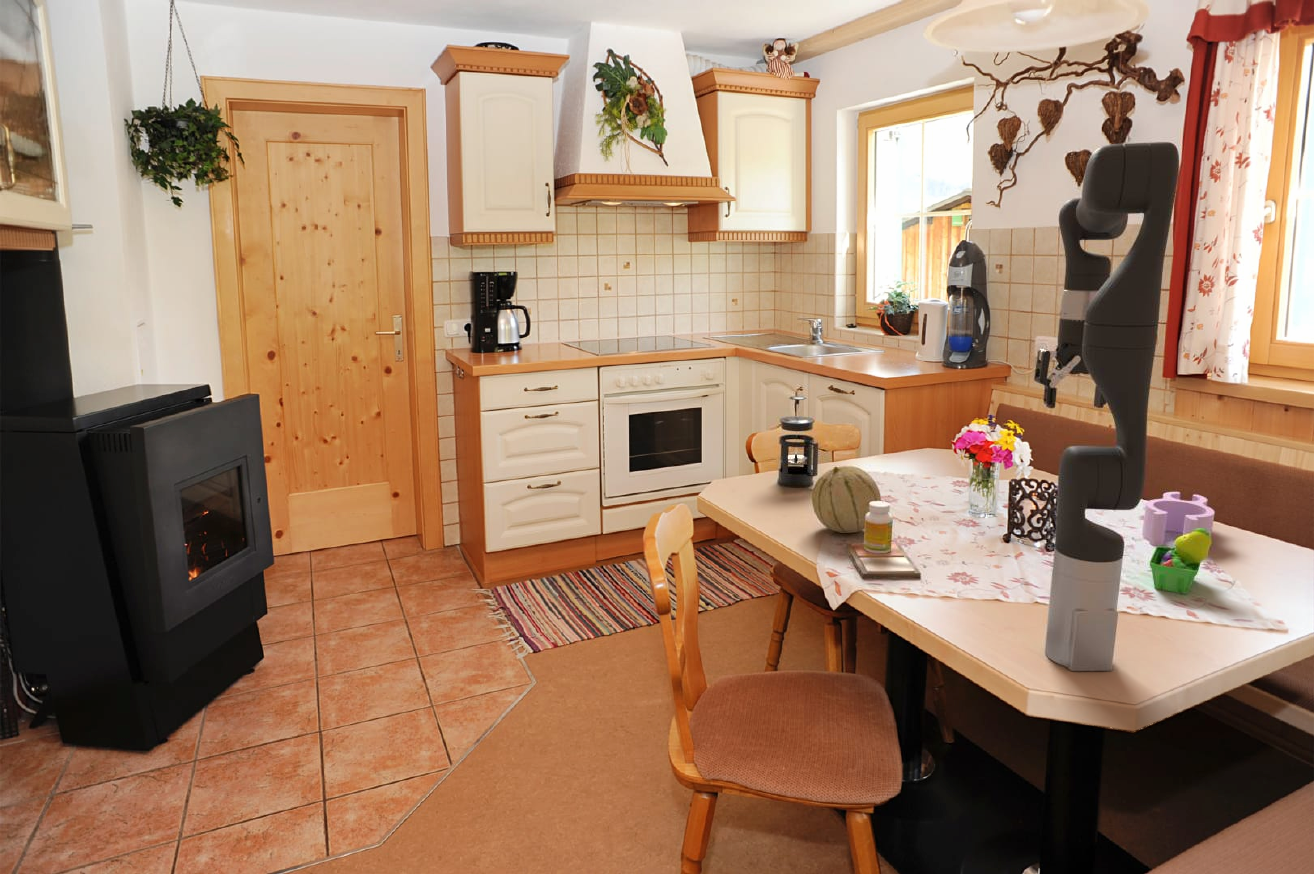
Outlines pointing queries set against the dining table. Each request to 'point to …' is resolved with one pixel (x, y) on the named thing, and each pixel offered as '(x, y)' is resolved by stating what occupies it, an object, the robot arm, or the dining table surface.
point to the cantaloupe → (844, 498)
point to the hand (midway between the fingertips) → (1074, 407)
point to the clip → (1175, 516)
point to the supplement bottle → (878, 528)
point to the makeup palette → (883, 562)
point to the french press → (796, 474)
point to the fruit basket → (1180, 561)
